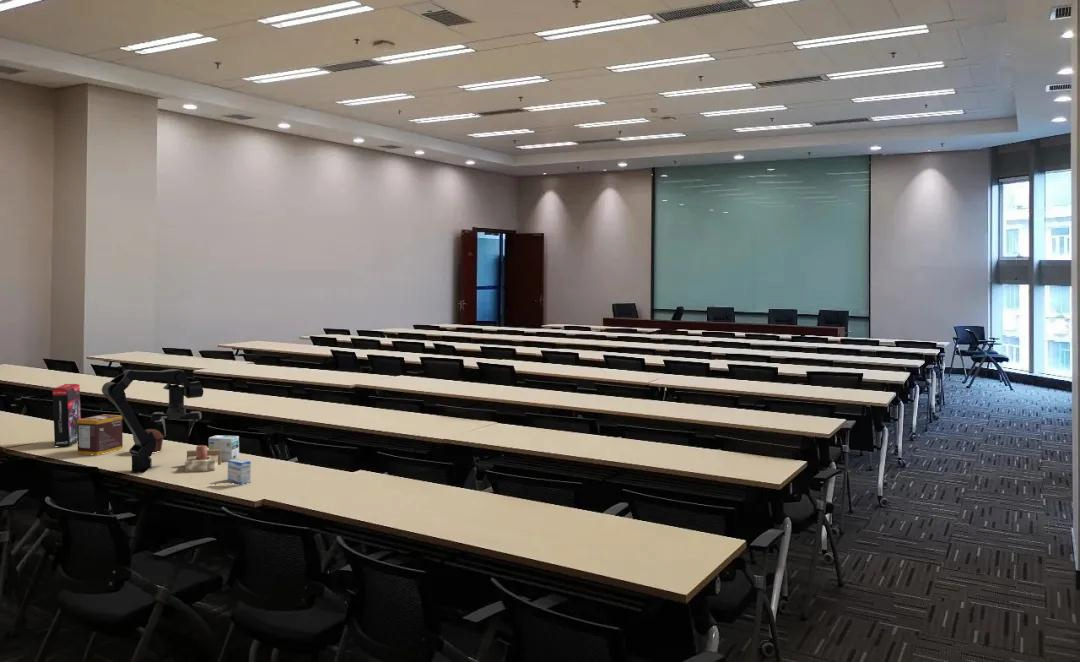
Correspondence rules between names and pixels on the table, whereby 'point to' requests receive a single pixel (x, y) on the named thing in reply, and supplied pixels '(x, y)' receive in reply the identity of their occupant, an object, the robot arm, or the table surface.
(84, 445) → the supplement box
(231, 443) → the light bulb box
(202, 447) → the dowel
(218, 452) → the backstop board
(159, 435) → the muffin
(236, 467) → the medicine box
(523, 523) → the table surface
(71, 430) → the graphics card box
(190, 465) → the beige ashtray
